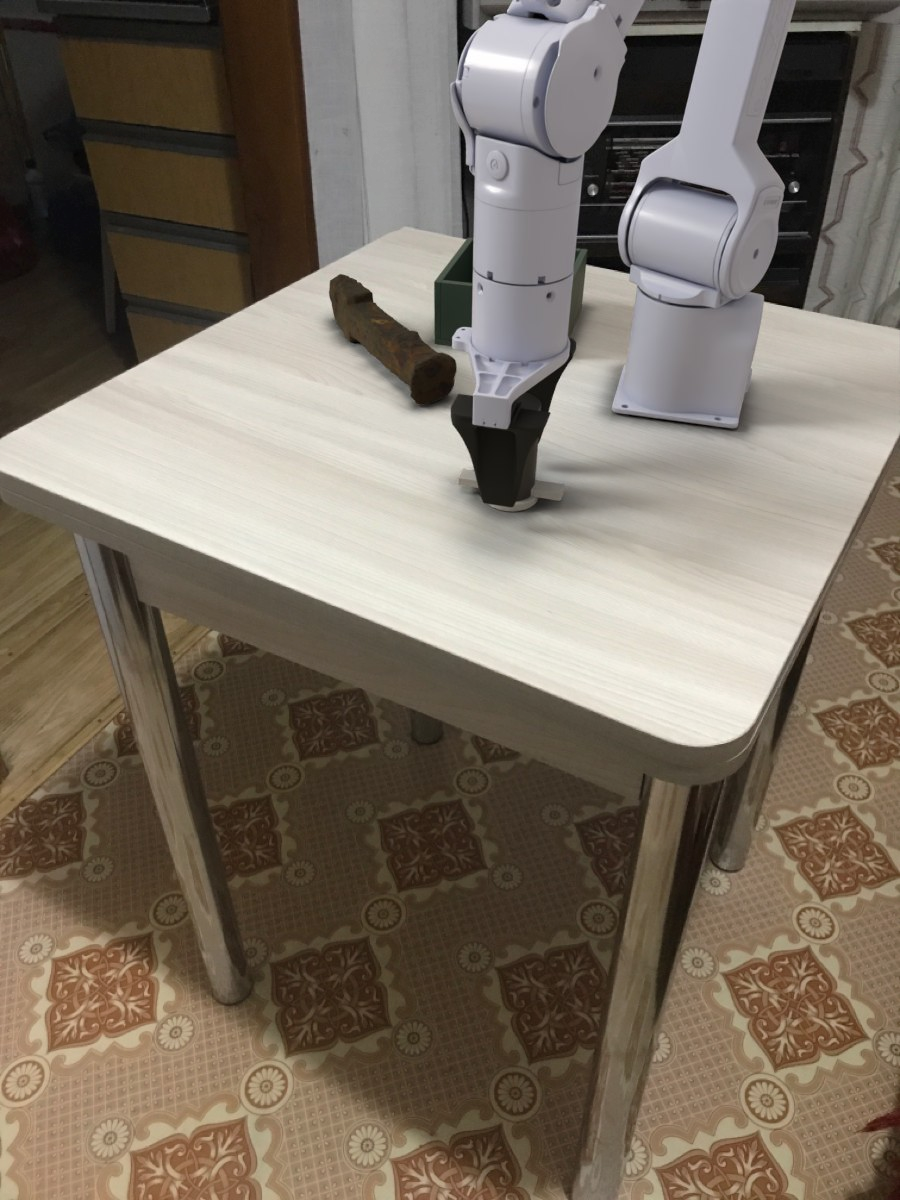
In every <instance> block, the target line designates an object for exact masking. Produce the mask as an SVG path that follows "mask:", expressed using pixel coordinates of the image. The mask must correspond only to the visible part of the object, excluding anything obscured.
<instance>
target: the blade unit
mask: <svg viewBox="0 0 900 1200" xmlns="http://www.w3.org/2000/svg"><path fill="white" fill-rule="evenodd" d="M519 402H521V403H522V408H523V409H530V410H538V411H541V402H540V400H539V399H538V398H537V397H536V396H534V395H532V394H529V393H526V392H525V393H523V394H522V395H520V396H519V397H518V403H519ZM538 439H539V438H538ZM538 439H537V440H536V442H535V443H534V445H533V447H532V448H531V451H530V454H529V457H528V460H527V464H526V469H525V473H524V478H523V482H522V486H521V489H520V492H519V495H518V497H517V500H516V503H515V505H514V507H505V506H498V505H492V504H487V505H488V506H490V507H491V508H493V509H496V510H499V511H503V512H521V511H525V510H528V509H530V508H532V507H534V505H536V504H537V502H538V500H539V499H545V500H552V501H559V502H561V500H562V497H563V495H564V492H565V491H564V490H565V484H564V483H558V482H554V481H545V480H541V479H540V480H539V479H536V478H537V477H536V475H537V465H538V464H537V463H538V450H539V449H538V448H539V444H538ZM458 486H463V487H470V488H475V489H479V488H478V484H477V480H476V476H475V471H474V469H467V468H462V469H461V472H460V473H459V476H458Z"/></svg>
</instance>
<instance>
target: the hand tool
mask: <svg viewBox="0 0 900 1200" xmlns="http://www.w3.org/2000/svg"><path fill="white" fill-rule="evenodd" d="M373 294H374V293H373V292H372V291H371V290H370V289H369V288H368V287H365V286H364V285H363V283H361V282H359V281H358V280H357V279H355V278H353V277H350V276H349V275H346V274H343V273H339V274H337V275H336V276H334V277H333V278H332V279H330V280H329V290H328V297H329V300H330V303H331V309H332V314H333V317H334V320H335V322H336V325H337V327H338V328H339V329H340V330H341V332H342V333H343V335H344V337H345V338H346V339H347V341H348V342H352V343H360V345H362V347H363V348H364V349H365V350H366V351H367V352H368V353H369V354H370V355H372V356H373V357H374V358H376V359H378V360H379V362H380V363H382V364H383V365H384V367H385V368H386V369H387V370H388V371H389V372H390V373H391V374H393V375H394V376H395V377H397V378H398V380H400V381H401V382H403V383H404V384H405V385H406V386H408V388H409V390H410V399H412V401H414V402H415V404H416V405H419V406H424V405H427V404H433V403H435V402H437V401H440V400H441V399H443V398H446V397H447V396H448V395H449V394H451V392H452V391H453V389H454V387H455V377H456V374H457V372H458V371H457V360H456V359H455V357H453V356H451V355H450V354H448V353H445V352H438V351H436V350H435V349H434V348H432V347H431V346H430V345H429V344H428V343H427V342H425V341H424V340H423V339H422V338H421V336H420V333H419V332H418V331H417V330H412V329H411V330H409V328H408V327H406V326H404V325H403V324H401V323H400V322H399V321H398V320H396V319H395V318H394V317H393V316H391V315H390V314H389V313H387V312H386V311H384V310H383V309H382V308H381V307H380V306H379V305H378V304H377V302H374V295H373Z"/></svg>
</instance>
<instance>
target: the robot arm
mask: <svg viewBox="0 0 900 1200" xmlns="http://www.w3.org/2000/svg"><path fill="white" fill-rule="evenodd" d="M645 1H646V0H511V2H510V4H509V6H508V8H507V10H506V13H499V14H496V15H495V16H493V20H492V19H491V20H490V19H487V20H486V22H484V23H483V24H482V26H480V27H479V28H477V29H476V30H475V31H474V32H473V34H472V35H471V36H470V37H469V39H468V40H467V42H466V44H465V46H464V47H463V50H462V52H461V54H460V58H459V62H458V66H457V71H456V79H455V81H453V82H451V83H450V85H449V91H450V93H449V94H450V102H451V107H452V111H453V114H454V118H455V120H456V122H457V124H458V126H459V128H460V129H461V131H462V133H463V136H464V140H465V166H469V167H468V168H469V172H470V173H471V174H472V176H473V177H474V191H473V193H474V199H473V200H474V201H473V206H474V207H473V238H474V242H473V295H472V328H470V327H461V328H459V329H457V331H456V332H455V334H454V335H453V337H452V345H451V348H452V349H453V350H454V351H458V352H463V353H464V352H465V353H466V354H467V355H468V358H469V362H470V368H471V373H472V377H473V381H474V382H473V383H474V386H475V389H474V391H473V393H472V395H470V394H464V393H458V394H457V395H456V396H455V399H454V400H453V402H452V404H451V406H450V421H451V424H452V426H453V428H454V429H455V430H456V431H457V433H458V435H459V436H460V438H461V439H462V441H463V443H464V445H465V447H466V449H467V451H468V454H469V457H470V460H471V463H472V467H473V470H474V471H475V476H476V480H477V484H478V488H477V489H478V493H479V496H480V499H481V502H482V503H483V504H486V505H488V504H492V505H498V506H505V507H514V505H515V503H516V500H517V497H518V495H519V492H520V489H521V486H522V482H523V478H524V473H525V469H526V464H527V460H528V457H529V454H530V451H531V448H532V447H533V445H534V443H535V442H536V440H537V439H538V438H539V439H538V445H539V444H540V441H541V440H542V436H543V433H544V431H545V428H546V426H547V424H548V421H549V419H550V416H551V412H550V409H551V406H552V402H553V398H554V394H555V392H556V388H557V385H558V383H559V381H560V379H561V377H562V375H563V373H564V372H565V371H566V369H567V367H568V366H569V363H571V361H572V360H573V358H574V355H575V352H576V350H577V342H576V340H575V339H574V338H572V337H571V336H570V337H568V326H569V315H570V304H571V293H572V284H573V273H574V261H575V251H576V248H577V239H578V229H579V217H580V207H581V195H582V187H583V186H582V185H583V184H582V183H583V175H584V174H583V173H584V165H585V164H584V163H585V153H586V152H587V151H588V150H590V149H591V147H593V146H594V144H595V143H596V141H597V140H598V139H599V138H600V135H601V133H603V131H604V130H605V129H606V127H607V126H608V123H609V122H610V119H611V116H612V113H613V109H614V105H615V102H616V96H617V91H618V83H619V76H620V73H621V70H622V68H623V65H624V64H625V62H626V58H625V56H626V54H627V52H628V48H627V45H626V42H625V41H624V40H625V39H626V37H627V35H628V33H629V30H630V29H631V27H632V25H633V23H634V22H635V20H636V18H637V17H638V14H639V12H640V11H641V8H642V7H643V5H644V3H645ZM796 3H797V0H711V2H710V5H709V10H708V14H707V19H706V22H705V27H704V31H703V35H702V39H701V43H700V47H699V51H698V56H697V59H696V64H695V68H694V72H693V76H692V81H691V84H690V88H689V92H688V98H687V102H686V106H685V109H684V114H683V119H682V123H681V126H680V130H679V133H678V135H677V136H675V137H674V138H673V139H671V140H670V141H668V142H667V143H665V144H664V145H662V146H661V147H659V148H657V149H656V150H654V151H653V152H651V153H650V154H648V155H647V156H645V157H644V158H643V159H642V161H641V164H640V168H639V172H638V175H637V178H636V182H635V183H634V187H633V190H632V192H631V194H630V196H629V198H628V200H627V201H626V204H625V205H624V207H623V210H622V213H621V216H620V219H619V223H618V230H617V244H618V251H619V257H620V258H621V261H622V262H623V265H625V266H627V267H628V268H630V269H629V277H628V281H629V282H630V283H633V284H635V285H636V291H635V298H634V305H633V312H632V319H631V320H632V321H631V326H630V332H629V342H628V349H627V356H626V362H625V364H624V365H623V366H622V370H621V374H620V377H619V380H618V384H617V387H616V391H615V395H614V397H613V401H612V405H611V411H612V412H613V413H616V414H622V415H628V416H629V415H631V416H635V417H636V416H637V417H644V418H652V419H659V420H667V421H674V422H682V423H688V424H694V425H695V424H696V425H703V426H711V427H717V428H718V427H720V428H725V429H736V428H738V426H739V423H740V416H741V411H742V408H743V402H744V399H745V395H746V393H748V392H749V389H750V385H751V382H752V376H753V375H752V374H753V368H752V366H753V365H752V364H753V361H754V356H755V352H756V347H757V343H758V339H759V334H760V330H761V329H760V327H761V324H762V318H763V312H764V305H765V296H764V295H763V294H760V293H757V292H752V290H754V289H755V288H756V286H757V285H758V284H759V283H760V282H761V280H762V279H763V278H764V276H765V274H766V272H767V270H768V269H769V267H770V264H771V262H772V259H773V257H774V254H775V251H776V246H777V242H778V238H779V237H778V236H779V219H780V213H781V208H782V204H783V200H784V197H785V195H784V194H785V193H784V192H785V189H786V186H785V184H784V182H783V180H782V178H781V177H780V175H779V173H778V172H777V171H776V169H774V167H773V165H772V164H771V162H769V160H768V159H767V157H766V156H765V154H764V153H763V151H762V150H761V149H760V146H759V144H758V138H759V136H760V135H759V134H760V131H761V128H762V124H763V121H764V116H765V113H766V110H767V106H768V103H769V99H770V96H771V92H772V89H773V85H774V81H775V78H776V75H777V71H778V67H779V64H780V60H781V57H782V53H783V50H784V46H785V42H786V39H787V35H788V31H789V28H790V24H791V21H792V17H793V14H794V10H795V6H796ZM681 182H685V183H690V184H694V185H698V186H702V187H706V188H710V189H715V190H719V191H722V192H725V193H727V194H729V195H730V196H729V195H725V194H721V193H717V192H713V191H709V190H704V189H700V188H696V187H692V186H688V185H684V184H680V183H681ZM525 392H526V393H529V394H532V395H534V396H536V397H537V398H538V399H539V400H540V402H541V411H538V410H530V409H523V408H522V403H521V402H519V403H518V397H519V396H520V395H522V394H523V393H525Z"/></svg>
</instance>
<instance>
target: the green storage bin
mask: <svg viewBox="0 0 900 1200" xmlns="http://www.w3.org/2000/svg"><path fill="white" fill-rule="evenodd" d="M473 242H474V237H467V238H466V239H465V241H464V242H463V243H462V244H461V246H460V247H459V249H458V250H457V251H456V252H455V253H454V255H453V257H452V258H450V260H449V262H448V263H447V264H446V266H445V267H444V268H443V269H442V271H440V273H439V274H438V276H437V277H436V279H435V280H434V281H433V300H434V301H433V303H434V305H433V307H434V309H433V312H434V313H433V314H434V315H433V316H434V319H433V320H434V321H433V322H434V344H438V345H446V346H452V337H453V335H454V334H455V332H456V331H457V329H459V328H461V327H470V328H472V295H473ZM588 252H589V251H588V249H587V248H580V247H579V248H578V247H576V251H575V261H574V273H573V284H572V293H571V304H570V315H569V326H568V337H570V338H571V335H572V332H573V331H574V328H575V325H576V323H577V320H578V318H579V316H580V313H581V311H582V307H583V301H584V300H583V299H584V290H585V282H586V281H585V280H586V270H587V261H588V260H587V259H588Z"/></svg>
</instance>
